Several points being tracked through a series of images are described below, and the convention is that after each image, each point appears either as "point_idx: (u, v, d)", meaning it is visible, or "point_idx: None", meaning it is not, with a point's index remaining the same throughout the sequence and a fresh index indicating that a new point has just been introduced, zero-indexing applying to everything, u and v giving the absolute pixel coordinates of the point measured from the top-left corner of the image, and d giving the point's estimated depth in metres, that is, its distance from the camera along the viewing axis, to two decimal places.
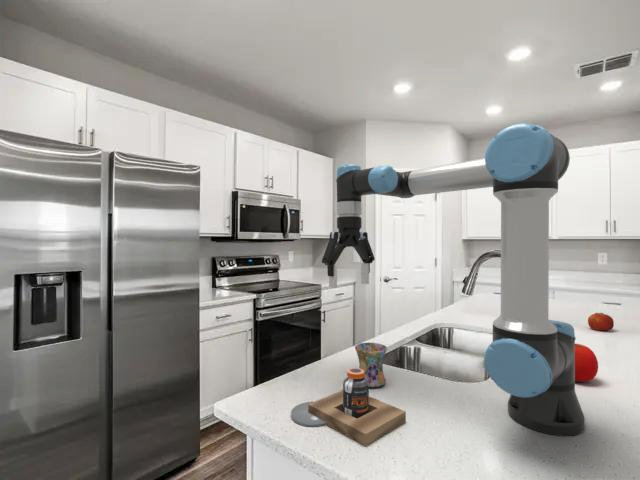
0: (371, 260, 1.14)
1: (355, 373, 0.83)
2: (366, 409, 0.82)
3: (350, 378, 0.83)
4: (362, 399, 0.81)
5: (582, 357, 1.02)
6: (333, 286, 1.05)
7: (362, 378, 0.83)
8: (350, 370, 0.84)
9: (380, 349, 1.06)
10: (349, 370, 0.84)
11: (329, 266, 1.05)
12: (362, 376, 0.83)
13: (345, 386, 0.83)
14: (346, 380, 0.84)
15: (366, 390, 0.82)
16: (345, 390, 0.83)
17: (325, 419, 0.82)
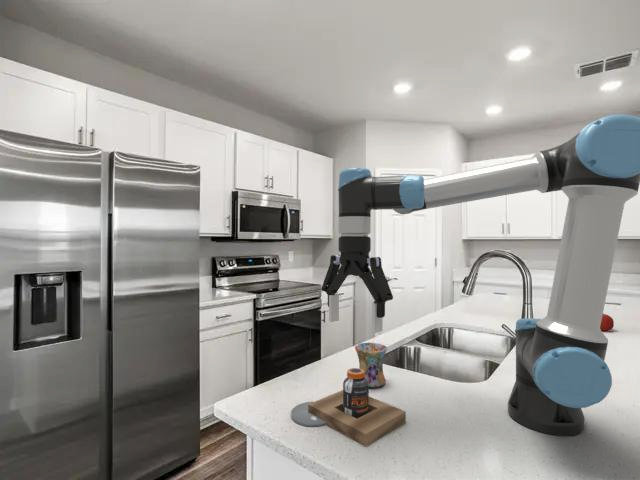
0: (377, 299, 0.77)
1: (355, 373, 0.83)
2: (366, 409, 0.82)
3: (350, 378, 0.83)
4: (362, 399, 0.81)
5: None
6: None
7: (362, 378, 0.83)
8: (350, 370, 0.84)
9: (380, 349, 1.06)
10: (349, 370, 0.84)
11: None
12: (362, 376, 0.83)
13: (345, 386, 0.83)
14: (346, 380, 0.84)
15: (366, 390, 0.82)
16: (345, 390, 0.83)
17: (325, 419, 0.82)
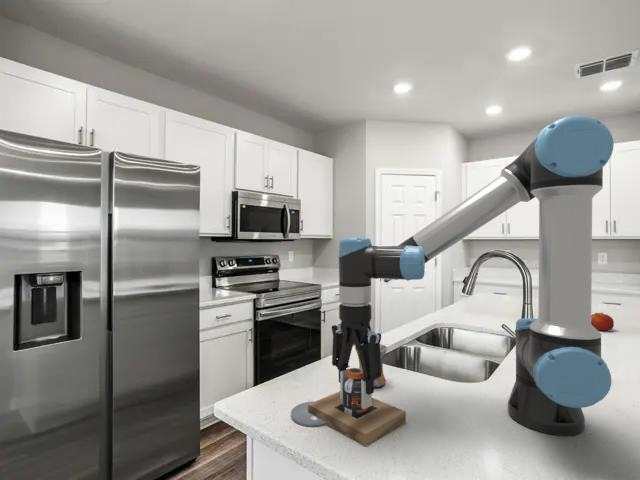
0: (366, 378, 0.80)
1: (355, 373, 0.83)
2: (366, 409, 0.82)
3: (350, 377, 0.83)
4: None
5: None
6: None
7: (362, 378, 0.83)
8: (350, 370, 0.84)
9: (380, 349, 1.06)
10: (349, 370, 0.84)
11: None
12: (362, 376, 0.83)
13: (345, 386, 0.83)
14: (346, 380, 0.84)
15: None
16: (345, 390, 0.83)
17: (325, 419, 0.82)
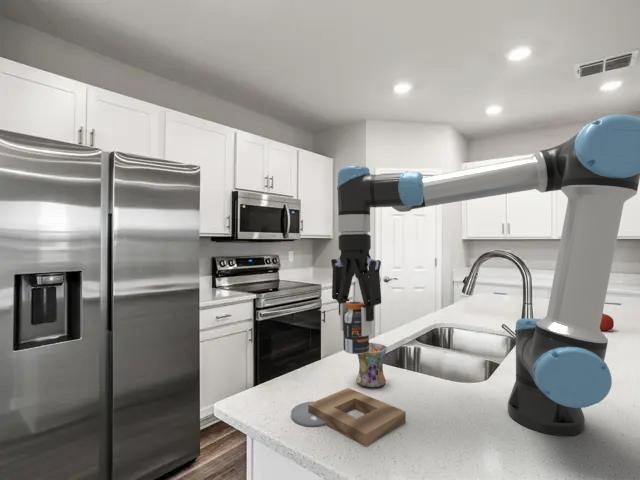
0: (366, 304, 0.80)
1: (355, 304, 0.83)
2: (366, 339, 0.82)
3: (349, 309, 0.83)
4: None
5: None
6: None
7: None
8: (349, 303, 0.84)
9: (380, 349, 1.06)
10: (349, 302, 0.84)
11: None
12: None
13: (345, 317, 0.83)
14: (346, 312, 0.84)
15: None
16: (345, 321, 0.83)
17: (325, 419, 0.82)
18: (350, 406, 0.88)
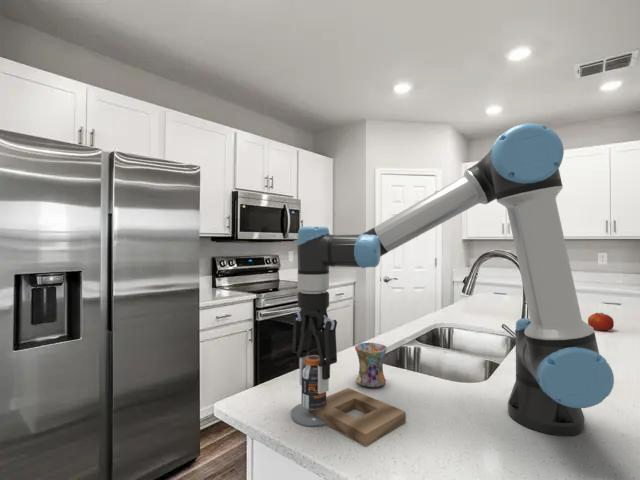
0: (322, 364, 0.81)
1: (312, 360, 0.84)
2: (323, 395, 0.84)
3: (307, 364, 0.84)
4: None
5: None
6: None
7: None
8: (308, 357, 0.86)
9: (380, 349, 1.06)
10: (307, 357, 0.86)
11: None
12: None
13: (303, 372, 0.84)
14: (304, 367, 0.85)
15: None
16: (303, 376, 0.84)
17: (325, 419, 0.82)
18: (350, 406, 0.88)
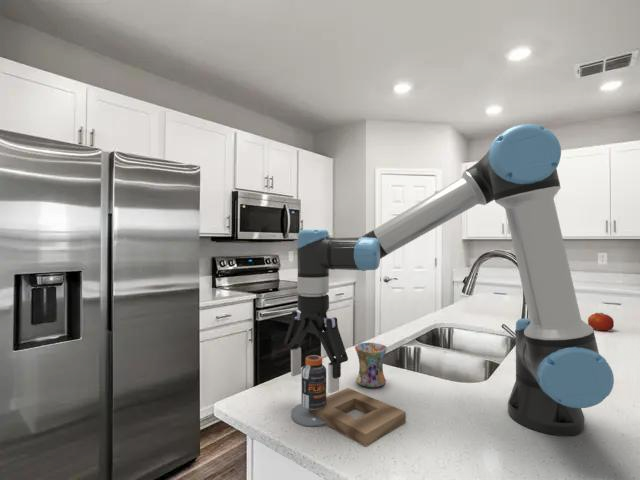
0: (332, 361, 0.79)
1: (312, 360, 0.84)
2: (323, 395, 0.84)
3: (307, 364, 0.84)
4: (319, 385, 0.83)
5: None
6: None
7: (319, 364, 0.85)
8: (308, 357, 0.86)
9: (380, 349, 1.06)
10: (307, 357, 0.86)
11: None
12: (320, 362, 0.85)
13: (303, 372, 0.84)
14: (304, 367, 0.85)
15: (323, 376, 0.84)
16: (303, 376, 0.84)
17: (325, 419, 0.82)
18: (350, 406, 0.88)
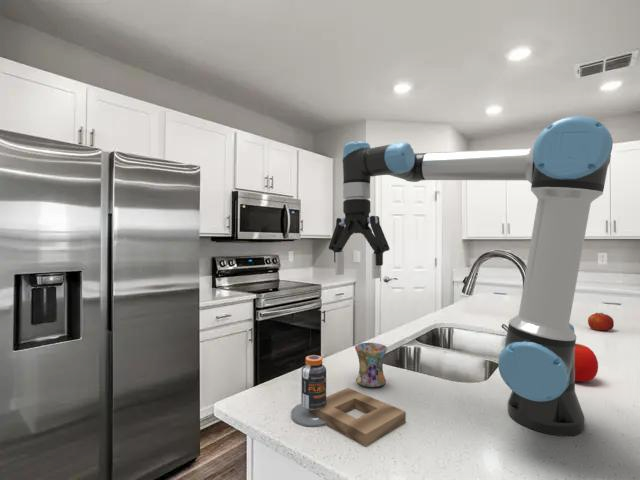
0: (376, 250, 0.92)
1: (312, 360, 0.84)
2: (323, 395, 0.84)
3: (307, 364, 0.84)
4: (319, 385, 0.83)
5: (582, 357, 1.02)
6: None
7: (319, 364, 0.85)
8: (308, 357, 0.86)
9: (380, 349, 1.06)
10: (307, 357, 0.86)
11: None
12: (320, 362, 0.85)
13: (303, 372, 0.84)
14: (304, 367, 0.85)
15: (323, 376, 0.84)
16: (303, 376, 0.84)
17: (325, 419, 0.82)
18: (350, 406, 0.88)
